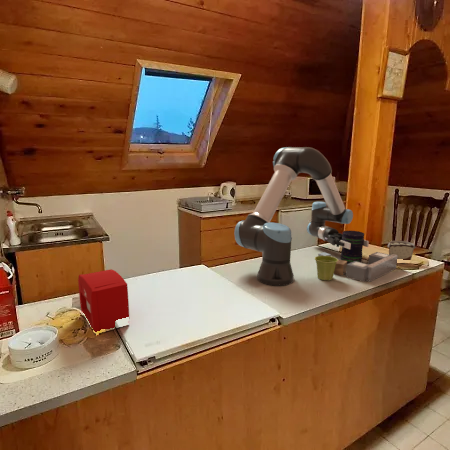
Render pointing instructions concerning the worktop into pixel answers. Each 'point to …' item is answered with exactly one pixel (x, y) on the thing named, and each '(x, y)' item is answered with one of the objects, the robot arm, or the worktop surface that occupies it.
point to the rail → (381, 267)
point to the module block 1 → (356, 270)
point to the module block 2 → (376, 257)
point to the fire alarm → (103, 298)
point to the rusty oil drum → (352, 246)
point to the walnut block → (340, 267)
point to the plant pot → (325, 267)
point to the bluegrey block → (324, 254)
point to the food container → (401, 249)
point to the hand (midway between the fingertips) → (359, 245)
